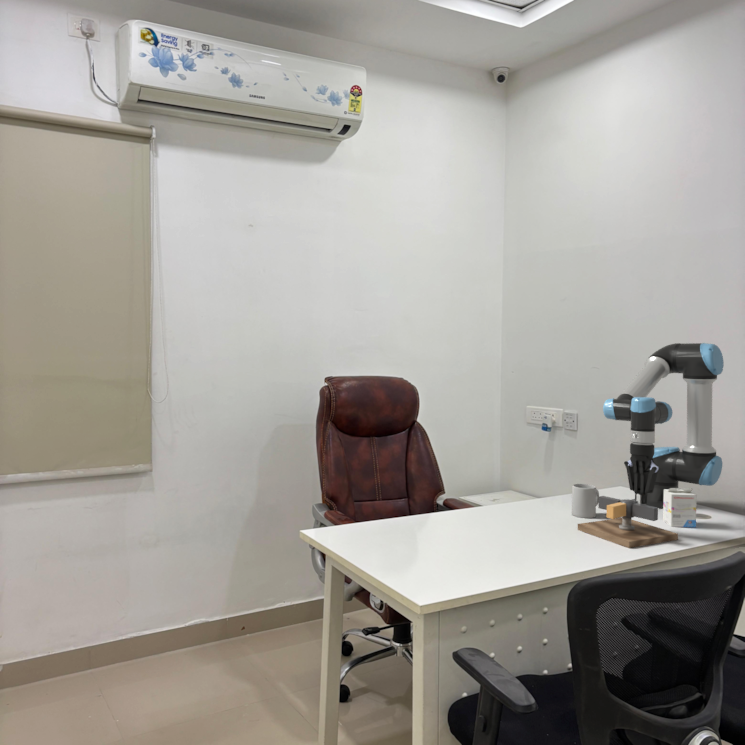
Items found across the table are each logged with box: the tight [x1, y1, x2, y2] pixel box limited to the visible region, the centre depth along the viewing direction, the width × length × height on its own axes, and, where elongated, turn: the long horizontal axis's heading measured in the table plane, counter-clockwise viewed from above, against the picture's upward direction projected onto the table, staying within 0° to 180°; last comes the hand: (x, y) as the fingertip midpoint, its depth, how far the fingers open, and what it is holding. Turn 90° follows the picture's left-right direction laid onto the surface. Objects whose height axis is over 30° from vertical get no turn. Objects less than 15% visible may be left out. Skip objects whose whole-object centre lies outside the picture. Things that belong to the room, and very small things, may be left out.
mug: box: [571, 483, 600, 519], centre depth 237 cm, size 12×8×11 cm
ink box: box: [662, 487, 698, 528], centre depth 226 cm, size 9×8×13 cm
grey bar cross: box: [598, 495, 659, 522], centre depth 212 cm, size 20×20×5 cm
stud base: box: [577, 517, 679, 549], centre depth 212 cm, size 22×22×6 cm
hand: (640, 513), depth 214 cm, fingers closed
